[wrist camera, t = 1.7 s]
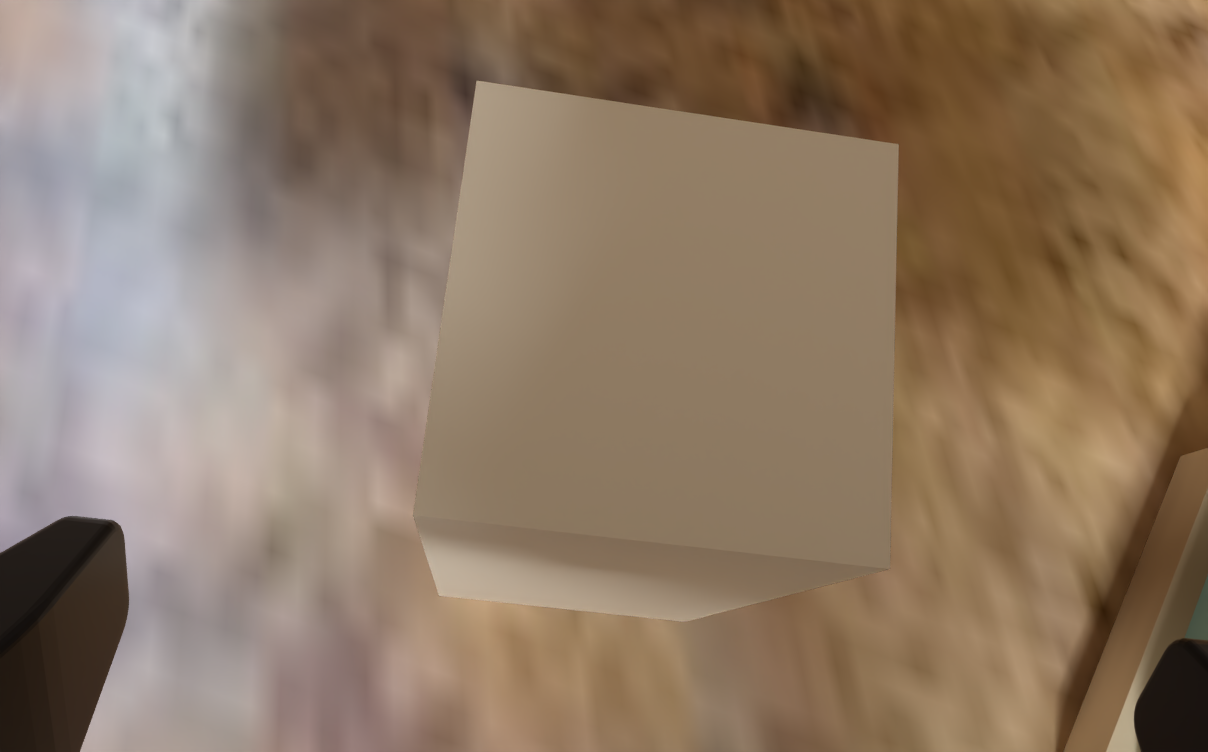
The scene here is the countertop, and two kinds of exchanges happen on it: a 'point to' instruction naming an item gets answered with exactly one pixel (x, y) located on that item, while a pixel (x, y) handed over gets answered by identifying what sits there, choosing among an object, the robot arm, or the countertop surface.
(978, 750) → the countertop surface
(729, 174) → the cream column
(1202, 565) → the tower base
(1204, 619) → the teal square slab
